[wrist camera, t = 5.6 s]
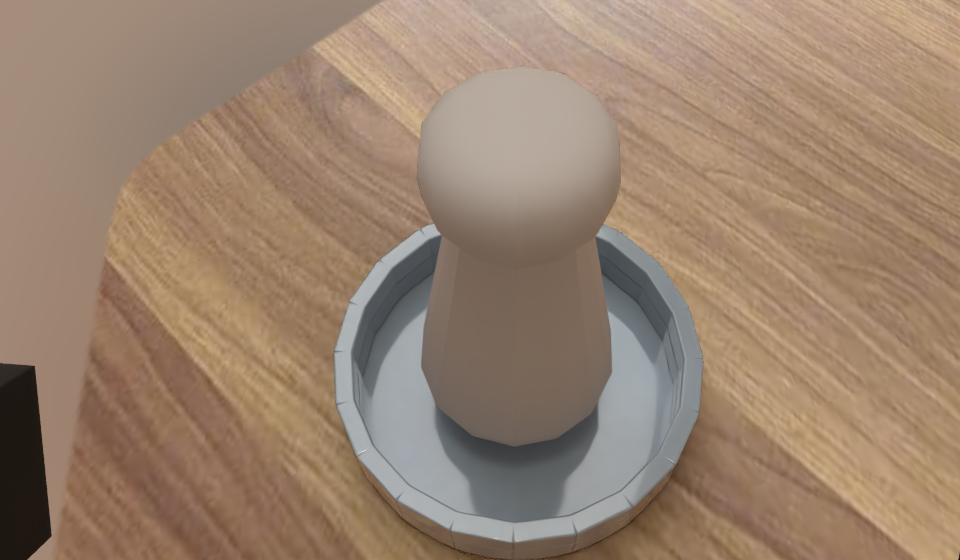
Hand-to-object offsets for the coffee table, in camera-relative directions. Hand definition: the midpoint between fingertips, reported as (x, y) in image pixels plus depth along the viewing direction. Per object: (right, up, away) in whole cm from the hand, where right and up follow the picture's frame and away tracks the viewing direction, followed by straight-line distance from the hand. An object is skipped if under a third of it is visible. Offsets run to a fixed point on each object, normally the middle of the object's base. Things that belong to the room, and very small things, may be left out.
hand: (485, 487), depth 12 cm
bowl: (+1, -1, +17) cm, 17 cm away
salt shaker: (+1, -1, +17) cm, 17 cm away
